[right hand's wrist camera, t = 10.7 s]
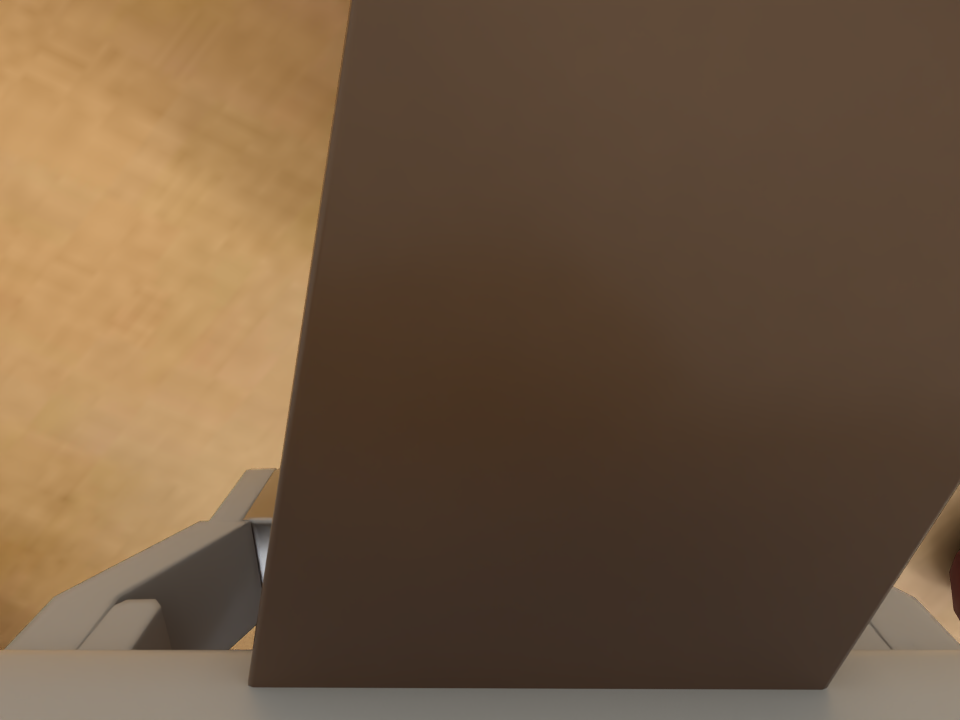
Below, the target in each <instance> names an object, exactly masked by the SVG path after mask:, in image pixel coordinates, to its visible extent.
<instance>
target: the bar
mask: <svg viewBox="0 0 960 720" xmlns="http://www.w3.org/2000/svg"><path fill="white" fill-rule="evenodd" d="M959 484H960V0H351V2H350V9H349V15H348V22H347V29H346V35H345V42H344V49H343V55H342V62H341V68H340V75H339V82H338V88H337V95H336V101H335V108H334V115H333V121H332V128H331V134H330V141H329V148H328V154H327V161H326V168H325V174H324V181H323V187H322V194H321V201H320V207H319V214H318V220H317V227H316V234H315V240H314V247H313V254H312V260H311V267H310V273H309V280H308V287H307V293H306V300H305V306H304V313H303V320H302V326H301V333H300V340H299V346H298V353H297V359H296V366H295V373H294V379H293V386H292V392H291V399H290V406H289V412H288V419H287V426H286V432H285V439H284V445H283V452H282V459H281V465H280V472H279V478H278V485H277V492H276V498H275V505H274V512H273V518H272V525H271V531H270V538H269V545H268V551H267V558H266V564H265V571H264V578H263V584H262V591H261V598H260V604H259V611H258V617H257V624H256V631H255V637H254V644H253V650H252V657H251V664H250V670H249V677H248V686H251V687H262V688H506V689H750V690H823V689H825V688H827V687H828V685H829V684H830V682H831V681H832V679H833V678H834V676H835V675H836V673H837V671H838V670H839V668H840V667H841V665H842V664H843V662H844V661H845V659H846V658H847V656H848V655H849V653H850V651H851V650H852V648H853V647H854V645H855V644H856V642H857V641H858V639H859V638H860V636H861V635H862V633H863V632H864V630H865V628H866V627H867V625H868V624H869V622H870V621H871V619H872V618H873V616H874V615H875V613H876V612H877V610H878V608H879V607H880V605H881V604H882V602H883V601H884V599H885V598H886V596H887V595H888V593H889V592H890V590H891V589H892V587H893V585H894V584H895V582H896V581H897V579H898V578H899V576H900V575H901V573H902V572H903V570H904V569H905V567H906V565H907V564H908V562H909V561H910V559H911V558H912V556H913V555H914V553H915V552H916V550H917V549H918V547H919V546H920V544H921V542H922V541H923V539H924V538H925V536H926V535H927V533H928V532H929V530H930V529H931V527H932V526H933V524H934V522H935V521H936V519H937V518H938V516H939V515H940V513H941V512H942V510H943V509H944V507H945V506H946V504H947V503H948V501H949V499H950V498H951V496H952V495H953V493H954V492H955V490H956V489H957V487H958V486H959Z"/></svg>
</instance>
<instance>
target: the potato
mask: <svg viewBox="0 0 960 720" xmlns="http://www.w3.org/2000/svg"><path fill="white" fill-rule="evenodd" d="M949 573H950V581H951V589H952V598H953V607H954V611H955V613H956V615H957V616H958V618H959V620H960V550H959V551H958V552H957V554H956V556H955V558H954V561H953V564H952V566H951V569H950V572H949Z"/></svg>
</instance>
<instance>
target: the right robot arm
mask: <svg viewBox="0 0 960 720" xmlns="http://www.w3.org/2000/svg"><path fill="white" fill-rule="evenodd" d="M279 472H280V469H276V468H265V469H249V470H246V471H245V472H244V474H243V475H242V476H241V478H240V479H239V480H238V482H237V483H236V485H235V486H234V487H233V489H232V490H231V491H230V493H229V494H228V496H227V497H226V498H225V500H224V501H223V502H222V504H221V505H220V507H219V508H218V509H217V511H216V512H215V513H214V515H213V516H212V517H211V519H210V520H209V521H199V522H197V523H195V524H193V525H192V526H190V527H188V528H186V529H184V530H182V531H180V532H178V533H176V534H174V535H172V536H170V537H168V538H166V539H165V540H163V541H161V542H159V543H157V544H155V545H153V546H151V547H149V548H147V549H145V550H143V551H141V552H139V553H138V554H136V555H134V556H132V557H130V558H128V559H126V560H124V561H122V562H120V563H118V564H116V565H114V566H112V567H111V568H109V569H107V570H105V571H103V572H101V573H99V574H97V575H95V576H93V577H91V578H89V579H87V580H85V581H84V582H82V583H80V584H78V585H76V586H74V587H72V588H70V589H68V590H66V591H64V592H62V593H60V594H58V595H57V596H55V597H53V598H52V599H51V600H50V601H49V602H48V604H47V605H46V606H45V607H44V608H43V609H42V610H41V611H40V612H39V613H38V614H37V615H36V616H35V617H34V618H33V619H32V620H31V621H30V622H29V624H28V625H27V626H26V627H25V628H24V629H23V630H22V631H21V632H20V633H19V634H18V635H17V636H16V637H15V638H14V639H13V640H12V641H11V642H10V644H9V645H8V646H7V647H6V648H5V649H4V650H0V720H960V644H959V643H958V642H957V641H956V640H955V639H954V638H953V637H952V636H951V635H950V634H949V633H948V631H947V630H946V629H945V628H944V627H943V626H942V625H941V624H940V623H939V622H938V621H937V620H936V619H935V618H934V617H933V616H932V615H931V614H930V613H929V612H928V611H927V610H926V609H925V608H924V607H923V605H922V604H921V603H920V602H919V601H918V600H917V599H916V598H915V597H913V596H911V595H909V594H907V593H905V592H903V591H901V590H899V589H897V588H895V587H892V589H891V590H890V592H889V593H888V595H887V596H886V598H885V599H884V601H883V602H882V604H881V605H880V607H879V608H878V610H877V612H876V613H875V615H874V616H873V618H872V619H871V621H870V622H869V624H868V625H867V627H866V628H865V630H864V632H863V633H862V635H861V636H860V638H859V639H858V641H857V642H856V644H855V645H854V647H853V648H852V650H851V651H850V653H849V655H848V656H847V658H846V659H845V661H844V662H843V664H842V665H841V667H840V668H839V670H838V671H837V673H836V675H835V676H834V678H833V679H832V681H831V682H830V684H829V685H828V687H827V688H825V689H823V690H750V689H506V688H262V687H251V686H248V677H249V670H250V664H251V657H252V650H229V649H230V648H231V647H232V646H234V645H235V644H236V643H237V642H238V641H239V640H240V639H241V638H242V637H243V636H245V635H246V634H247V633H248V632H249V631H250V630H251V629H252V628H253V627H254V626H256V624H257V617H258V611H259V604H260V598H261V591H262V584H263V578H264V571H265V564H266V558H267V551H268V545H269V538H270V531H271V525H272V518H273V512H274V505H275V498H276V492H277V485H278V478H279Z"/></svg>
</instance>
